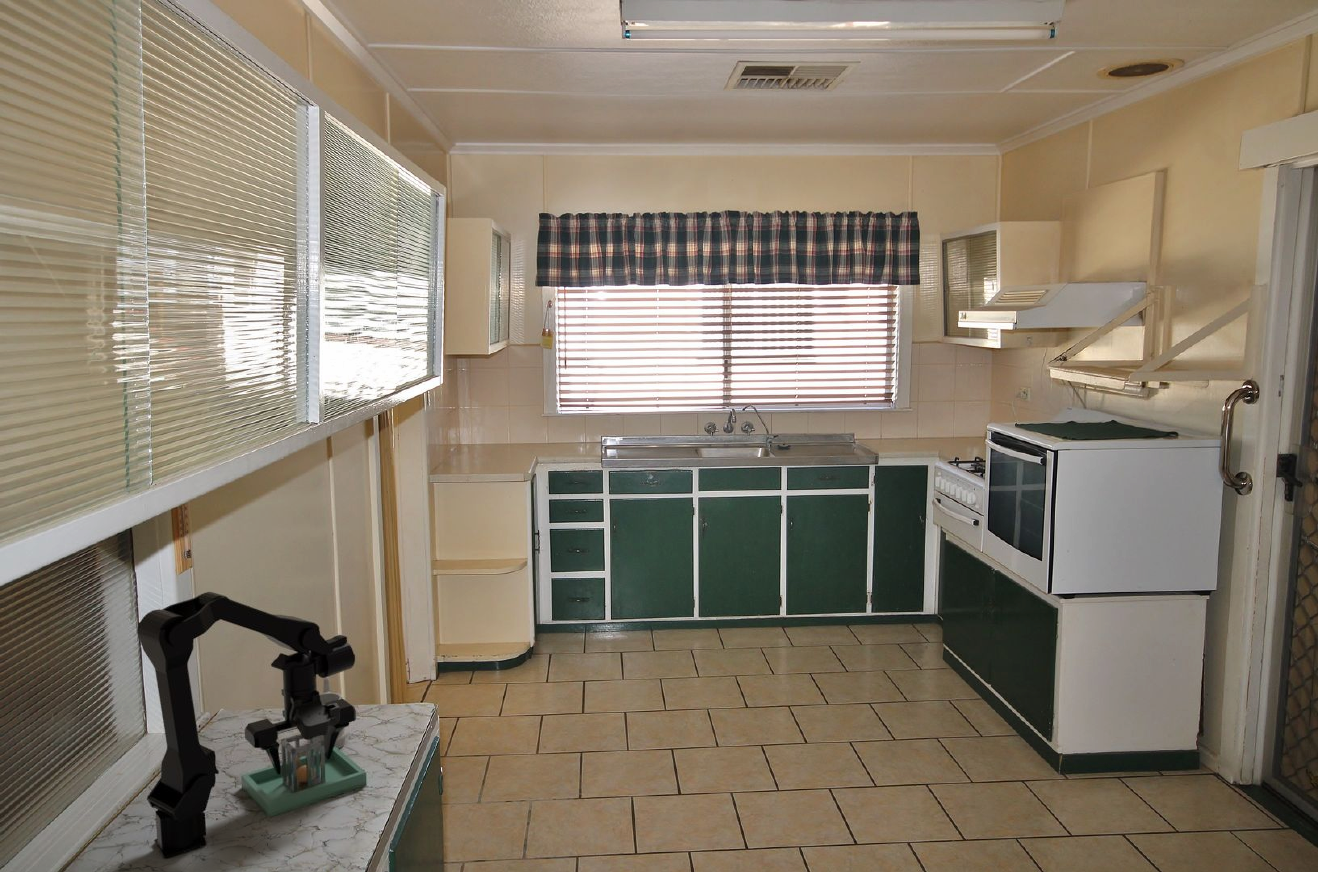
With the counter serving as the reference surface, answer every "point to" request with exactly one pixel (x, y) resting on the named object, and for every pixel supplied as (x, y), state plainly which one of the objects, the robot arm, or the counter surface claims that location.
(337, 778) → the tray
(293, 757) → the cage
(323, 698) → the mug
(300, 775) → the ball
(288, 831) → the counter surface
